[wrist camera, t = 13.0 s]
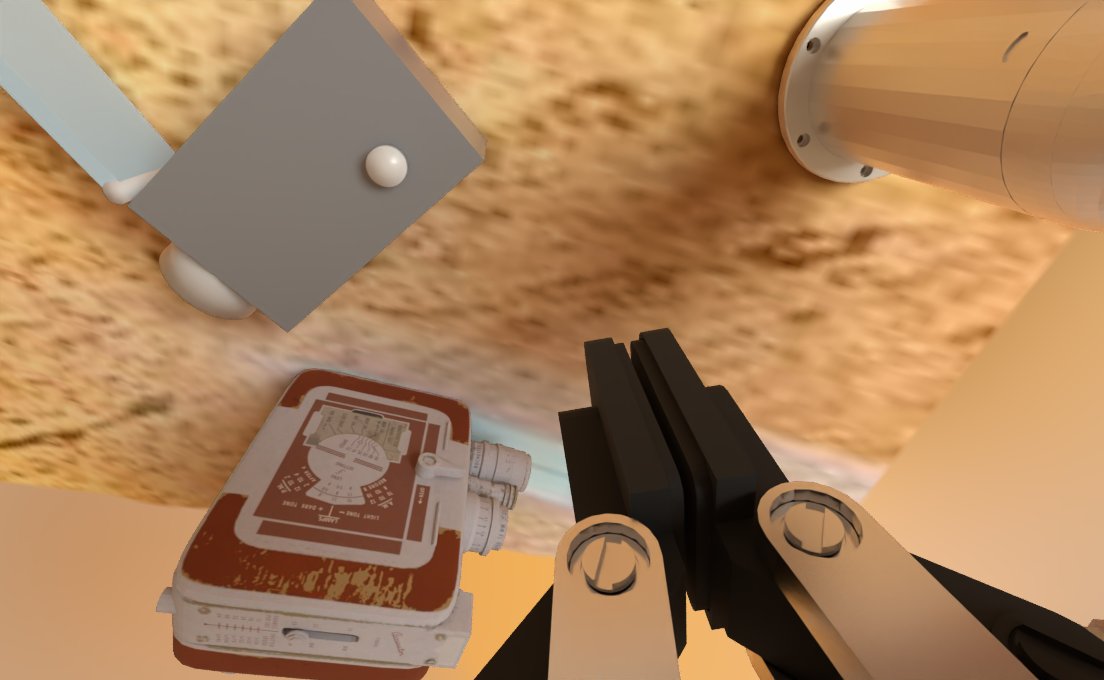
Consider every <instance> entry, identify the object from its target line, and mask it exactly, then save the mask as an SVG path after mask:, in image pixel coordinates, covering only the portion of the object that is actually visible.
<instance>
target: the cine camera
mask: <svg viewBox="0 0 1104 680" xmlns="http://www.w3.org/2000/svg"><path fill="white" fill-rule="evenodd" d="M530 472H531V456H530V455H529V454H526V453H525V452H523V451H518V450H515V449H514V448H510V447H505V446H503V445H501V444H496V445H493V444H489V442H487V441H483V442H482V443H480V442H475V441H474V442H471V413H470V410H469V407H468V406H467V405H466V404H464V403H463V402H461V401H458V400H455V399H451V398H447V397H443V396H439V395H435V394H431V393H426V392H422V391H417V390H413V389H409V388H404V387H400V386H396V385H391V384H387V383H382V382H378V381H374V380H369V379H365V378H360V377H356V376H352V375H347V374H343V373H338V372H333V371H328V370H323V369H307V370H304V371H303V372H301V373H300V374H298V375H297V376H296V378H295V379H294V380H293V381H292V382H291V384H290V385H289V386H288V387H287V389H286V390H285V392H284V393H283V395H282V396H281V398H280V399H279V401H278V402H277V404H276V405H275V407H274V408H273V410H272V411H271V413H270V414H269V416H268V417H267V419H266V421H265V422H264V424H263V425H262V427H261V428H260V430H259V432H258V433H257V435H256V436H255V438H254V439H253V441H252V442H251V444H250V446H249V447H248V449H247V450H246V452H245V453H244V455H243V457H242V458H241V460H240V461H239V463H238V464H237V466H236V468H235V469H234V471H233V472H232V474H231V475H230V477H229V478H228V480H227V482H226V483H225V485H224V486H223V488H222V489H221V491H220V493H219V494H218V496H217V497H216V499H215V500H214V502H213V504H212V505H211V507H210V508H209V510H208V511H207V513H206V515H205V516H204V518H203V519H202V521H201V523H200V524H199V526H198V527H197V529H196V530H195V532H194V534H193V535H192V537H191V539H190V540H189V542H188V544H187V546H186V548H185V550H184V551H183V554H182V556H181V558H180V561H179V563H178V565H177V568H176V570H175V572H174V575H173V582H172V587H167V588H166V589H165V590H164V591H163V593H162V594H161V596H160V598H159V601H158V603H157V607H156V612H163V613H172V624H173V652H174V655H175V657H176V658H177V659H178V660H179V661H180V662H181V663H182V664H183V665H186V666H189V667H192V668H195V669H203V670H211V671H219V672H222V673H227V674H235V673H242V674H253V675H264V676H276V677H287V678H299V679H311V680H421V679H422V678H423V677H424V675H425V674H426V672H427V670H428V668H429V666H433V667H444V668H456V666H457V664H458V662H459V659H460V657H461V655H462V653H463V651H464V649H465V647H466V644H467V642H468V640H469V638H470V636H471V629H472V628H471V627H472V609H473V594H472V593H468V592H464V591H462V590H461V589H459V585H460V578H461V566H462V554H463V553H465V552H467V551H471V552H478V553H479V554H480V555H482V556H486V555H487V554H488V553H489V551H490V550H497V551H498V550H500V548H501V546H502V544H503V541H504V538H505V534H506V529H507V523H508V509H510V510H513V508H514V506H515V504H516V500H517V494H518V492H523V491H524V490H525V488H526V486H527V484H528V480H529V476H530Z"/></svg>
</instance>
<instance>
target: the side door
mask: <svg viewBox="0 0 1104 680" xmlns="http://www.w3.org/2000/svg"><path fill="white" fill-rule="evenodd" d="M0 85H1V86H2V87H3V88H4V89H5V91H6V92H7V93H8V94H9V95H10V96H11V97H12V98H13V99H14V100H15V101H16V102H17V103H18V104H19V105H20V106H21V107H22V108H23V109H24V110H25V111H26V112H27V113H28V114H29V115H30V116H31V117H32V118H33V119H34V120H35V121H36V122H37V123H38V124H39V125H40V126H41V127H42V128H43V129H44V130H45V131H46V132H47V133H48V134H49V135H50V136H51V137H52V138H53V139H54V140H55V141H56V142H57V143H58V144H59V145H60V146H61V147H62V148H63V149H64V150H65V151H66V152H67V153H68V154H69V155H70V156H71V157H72V158H73V159H74V160H75V161H76V162H77V163H78V164H79V165H80V166H81V167H82V168H83V169H84V170H85V171H86V172H87V173H88V174H89V175H90V176H91V177H92V178H93V179H94V180H95V181H96V182H97V183H98V184H99V185H100V186H101V187H102V190H103V193H104V195H105V197H106V198H107V199H108V200H109V201H111V202H113V203H115V204H125V203H127V202H130V201H132V200H133V199H134V198H135V197H136V196H137V195H138V194H139V193H140V191H141V190H142V189H143V188H144V187H145V186H146V185H147V184H148V183H149V182H150V180H151V179H152V178H153V177H154V176H155V175H156V174H157V173H158V172H159V171H160V169H161V168H162V167H163V166H164V165H165V164H166V163H167V162H168V161H169V160H170V158H171V157H172V156H173V155H174V154H175V151H174V150H173V149H172V148H171V147H170V146H169V145H168V144H167V142H166V141H165V140H164V139H163V138H162V137H161V136H160V134H159V133H158V132H157V131H156V130H155V129H154V128H153V127H152V125H151V124H150V123H149V122H148V121H147V120H146V119H145V118H144V116H143V115H142V114H141V113H140V112H139V111H138V110H137V108H136V107H135V106H134V105H133V104H132V103H131V102H130V101H129V99H128V98H127V97H126V96H125V95H124V94H123V93H122V91H121V90H120V89H119V88H118V87H117V86H116V85H115V84H114V82H113V81H112V80H111V79H110V78H109V77H108V76H107V75H106V73H105V72H104V71H103V70H102V69H101V68H100V67H99V65H98V64H97V63H96V62H95V61H94V60H93V59H92V58H91V56H90V55H89V54H88V53H87V52H86V51H85V50H84V48H83V47H82V46H81V45H80V44H79V43H78V42H77V41H76V39H75V38H74V37H73V36H72V35H71V34H70V33H69V32H68V30H67V29H66V28H65V27H64V26H63V25H62V24H61V22H60V21H59V20H58V19H57V18H56V17H55V16H54V15H53V13H52V12H51V11H50V10H49V9H48V8H47V7H46V5H45V4H44V3H43V2H42V1H41V0H0Z"/></svg>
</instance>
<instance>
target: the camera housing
mask: <svg viewBox="0 0 1104 680" xmlns="http://www.w3.org/2000/svg"><path fill="white" fill-rule="evenodd" d="M486 145H487V140H486V139H485V138H484V136H483V135H482V134H481V133H480V132H479V130H478V129H477V128H476V127H475V125H474V124H473V123H472V122H471V120H470V119H469V118H468V117H467V115H466V114H465V113H464V112H463V110H462V109H461V108H460V107H459V106H458V104H457V103H456V102H455V101H454V99H453V98H452V97H451V96H450V94H449V93H448V92H447V91H446V89H445V88H444V87H443V86H442V84H441V83H440V82H439V81H438V80H437V78H436V77H435V76H434V75H433V73H432V72H431V71H430V70H429V68H428V67H427V66H426V65H425V63H424V62H423V61H422V60H421V59H420V57H419V56H418V55H417V54H416V52H415V51H414V50H413V49H412V47H411V46H410V45H409V44H408V42H407V41H406V40H405V39H404V37H403V36H402V35H401V34H400V33H399V31H398V30H397V29H396V28H395V26H394V25H393V24H392V23H391V21H390V20H389V19H388V18H387V16H386V15H385V14H384V13H383V11H382V10H381V9H380V8H379V7H378V5H377V4H376V3H375V2H374V0H314V1H313V2H312V3H311V4H310V5H309V7H308V8H307V9H306V10H305V11H304V12H303V13H302V14H301V15H300V16H299V18H298V19H297V20H296V21H295V22H294V23H293V24H292V25H291V26H290V27H289V29H288V30H287V31H286V32H285V33H284V34H283V35H282V36H281V37H280V38H279V40H278V41H277V42H276V43H275V44H274V45H273V46H272V47H271V48H270V49H269V51H268V52H267V53H266V54H265V55H264V56H263V57H262V58H261V59H260V60H259V62H258V63H257V64H256V65H255V66H254V67H253V68H252V69H251V70H250V71H249V73H248V74H247V75H246V76H245V77H244V78H243V79H242V80H241V81H240V82H239V84H238V85H237V86H236V87H235V88H234V89H233V90H232V91H231V92H230V93H229V95H228V96H227V97H226V98H225V99H224V100H223V101H222V102H221V103H220V104H219V106H218V107H217V108H216V109H215V110H214V111H213V112H212V113H211V114H210V115H209V117H208V118H207V119H206V120H205V121H204V122H203V123H202V124H201V125H200V126H199V128H198V129H197V130H196V131H195V132H194V133H193V134H192V135H191V136H190V137H189V139H188V140H187V141H186V142H185V143H184V144H183V145H182V146H181V147H180V149H179V150H178V151H177V152H176V153H175V154H174V155H173V156H172V157H171V158H170V160H169V161H168V162H167V163H166V164H165V165H164V166H163V167H162V168H161V169H160V171H159V172H158V173H157V174H156V175H155V176H154V177H153V178H152V179H151V180H150V182H149V183H148V184H147V185H146V186H145V187H144V188H143V189H142V190H141V191H140V193H139V194H138V195H137V196H136V197H135V198H134V199H133V200H132V201H131V202H130V204H129V205H128V206H127V207H128V208H130V209H131V210H132V211H134V212H135V213H136V214H137V215H139V216H140V217H141V218H142V219H144V220H145V221H146V222H148V223H149V224H150V225H151V226H153V227H154V228H155V229H156V230H158V231H159V232H160V233H162V234H163V235H164V236H165V237H167V238H168V239H169V240H170V241H172V242H171V243H170V244H169V245H168V246H167V247H166V248H165V249H164V250H163V252H162V253H161V255H160V259H159V266H160V270H161V272H162V275H163V277H164V278H165V280H166V282H167V283H168V284H169V286H170V287H171V288H172V289H173V290H174V291H175V292H176V293H177V294H178V295H179V296H180V297H181V298H182V299H184V300H185V301H186V302H187V303H189V304H190V305H192V306H193V307H195V308H197V309H199V310H201V311H203V312H205V313H207V314H209V315H212V316H215V317H218V318H223V319H229V320H238V319H243V318H246V317H248V316H250V315H251V314H252V313H253V312H254V311H256V310H257V309H258V310H260V311H261V312H262V313H263V314H265V315H266V316H267V317H268V318H270V319H271V320H272V321H274V322H275V323H276V324H277V325H279V326H280V327H281V328H282V329H284V330H285V331H286V332H289V331H290V330H291V329H293V328H294V327H295V326H296V325H297V324H298V323H299V322H301V321H302V320H303V319H304V318H305V317H306V316H307V315H309V314H310V313H311V312H312V311H313V310H314V309H315V308H317V307H318V306H319V305H320V304H321V303H322V302H323V301H325V300H326V299H327V298H328V297H329V296H330V295H331V294H333V293H334V292H335V291H336V290H337V289H338V288H339V287H341V286H342V285H343V284H344V283H345V282H346V281H347V280H348V279H350V278H351V277H352V276H353V275H354V274H355V273H356V272H358V271H359V270H360V269H361V268H362V267H363V266H364V265H366V264H367V263H368V262H369V261H370V260H371V259H372V258H374V257H375V256H376V255H377V254H378V253H379V252H380V251H382V250H383V249H384V248H385V247H386V246H387V245H388V244H390V243H391V242H392V241H393V240H394V239H395V238H396V237H398V236H399V235H400V234H401V233H402V232H403V231H404V230H406V229H407V228H408V227H409V226H410V225H411V224H412V223H414V222H415V221H416V220H417V219H418V218H419V217H420V216H422V215H423V214H424V213H425V212H426V211H427V210H428V209H430V208H431V207H432V206H433V205H434V204H435V203H436V202H438V201H439V200H440V199H441V198H442V197H443V196H444V195H446V194H447V193H448V192H449V191H450V190H451V189H452V188H454V187H455V186H456V185H457V184H458V183H459V182H460V181H462V180H463V179H464V178H465V177H466V176H467V175H468V174H470V173H471V172H472V171H473V170H474V169H475V168H476V167H478V166H479V165H480V164H481V163H482V162H483V161H484V159H485V152H486Z"/></svg>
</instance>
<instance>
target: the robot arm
mask: <svg viewBox="0 0 1104 680" xmlns="http://www.w3.org/2000/svg"><path fill="white" fill-rule="evenodd" d="M808 42H809V48H808V49H807V48H806V47H807V43H808ZM778 118H779V124H780V129H781V134H782V136H783V139H784V141H785V143H786V146H787V148H788V150H789V151H790V153H791V154H792V156H793V157H794V158H795V160H796V161H797V162H798V163H799V164H800V165H802V166H803V167H804V168H805V169H806V170H808V171H809V172H811V173H813V174H815V175H818V176H820V177H822V178H825V179H828V180H831V181H834V182H842V183H860V182H867V181H871V180H874V179H877V178H881V177H884V176H886V175H888V174H890V173H893V174H896V175H899V176H902V177H906V178H909V179H912V180H915V181H919V182H922V183H925V184H929V185H932V186H935V187H938V188H942V189H945V190H948V191H952V192H955V193H958V194H961V195H965V196H968V197H971V198H974V199H978V200H981V201H984V202H988V203H991V204H994V205H997V206H1001V207H1004V208H1007V209H1011V210H1014V211H1017V212H1020V213H1024V214H1027V215H1030V216H1033V217H1037V218H1040V219H1045V220H1048V221H1052V222H1055V223H1058V224H1062V225H1065V226H1069V227H1073V228H1078V229H1082V230H1088V231H1097V232H1104V0H826V1H825V2H824V3H823V4H822V5H821V6H820V7H819V8H818V10H817V11H816V12H815V13H814V14H813V15H812V16H811V18H810V19H809V21H808V22H807V24H806V25H805V27H804V28H803V29H802V31H801V32H800V34H799V35H798V37H797V39H796V41H795V43H794V46H793V48H792V50H791V52H790V54H789V56H788V58H787V62H786V65H785V68H784V71H783V74H782V77H781V83H780V89H779V95H778ZM799 136H800V139H799V141H798V142H797V140H798V138H799ZM584 348H585V356H586V364H587V372H588V380H589V388H590V396H591V404H592V407H587V408H581V409H575V410H569V411H563V412H558V415H559V421H560V427H561V433H562V439H563V446H564V452H565V458H566V464H567V470H568V477H569V483H570V489H571V495H572V501H573V508H574V514H575V520H576V524H575V525H574V526H573V527H572V528H571V529H569V530H568V531H567V532H566V533H565V535H564V537H563V538H562V540H561V541H560V543H559V545H558V549H557V553H556V558H555V571H554V583H553V585H552V586H551V587H550V588H549V590H548V591H547V592H546V593H545V594H544V596H543V597H542V598H541V599H540V601H539V602H538V603H537V604H536V605H535V606H534V608H533V609H532V610H531V611H530V613H529V614H528V615H527V616H526V617H525V619H524V620H523V621H522V622H521V623H520V625H519V626H518V627H517V628H516V629H515V631H514V632H513V633H512V634H511V635H510V637H509V638H508V639H507V640H506V641H505V643H504V644H503V645H502V647H501V648H500V649H499V650H498V651H497V652H496V654H495V655H494V656H493V657H492V659H491V660H490V661H489V662H488V664H486V666H485V667H484V668H483V669H482V670H481V672H480V673H479V674H478V675H477V677H476V678H475V679H474V680H681V679H680V672H679V666H678V658H679V656H680V655H681V653H682V651H683V649H684V647H685V646H686V643H687V642H686V592H687V595H688V598H689V600H690V603H691V606H692V608H693V610H695V611H698V610H705V613H706V616H707V618H708V621H709V624H710V626H711V629H712V630H714V629H720V628H725V631H726V634H727V636H728V637H729V638H731V639H732V640H734V641H736V642H737V643H739V644H741V645H742V646H744V647H746V651H747V654H748V656H749V659H750V661H751V664H752V666H753V668H754V669H755V671H756V673H757V675H758V677H759V678H760V680H1104V620H1100V619H1093V620H1092V621H1091V623H1090V624H1089V626H1088V627H1083V626H1081V625H1079V624H1077V623H1075V622H1073V621H1071V620H1069V619H1067V618H1065V617H1063V616H1061V615H1059V614H1057V613H1055V612H1053V611H1050V610H1048V609H1046V608H1043V607H1040V606H1038V605H1036V604H1033V603H1031V602H1029V601H1026V600H1024V599H1021V598H1019V597H1016V596H1013V595H1011V594H1009V593H1006V592H1004V591H1002V590H999V589H997V588H994V587H992V586H989V585H987V584H984V583H982V582H980V581H977V580H975V579H972V578H970V577H967V576H965V575H963V574H960V573H958V572H955V571H953V570H950V569H948V568H945V567H943V566H941V565H938V564H936V563H933V562H931V561H928V560H926V559H924V558H921V557H919V556H916V555H914V554H911V553H909V552H908V551H907V550H905V548H904V547H902V546H901V545H900V544H899V543H898V542H897V541H896V540H895V539H894V538H893V537H892V536H891V535H890V534H889V533H888V532H887V531H886V530H885V529H884V528H883V527H882V526H881V525H880V524H879V523H878V522H877V521H876V520H875V519H874V518H873V517H872V516H871V515H870V514H869V513H868V512H867V511H865V509H864V508H863V507H862V506H860V505H859V504H858V503H857V502H855V501H854V500H853V499H851V498H850V497H849V496H848V495H846V494H844V493H842V492H840V491H838V490H836V489H834V488H832V487H829V486H825V485H821V484H818V483H814V482H802V481H794V482H789V481H788V480H787V478H786V477H785V475H784V474H783V472H782V471H781V469H780V468H779V466H778V465H777V463H776V462H775V460H774V459H773V457H772V456H771V454H770V453H769V451H768V450H767V448H766V447H765V445H764V444H763V443H762V441H761V440H760V438H759V437H758V435H757V434H756V432H755V431H754V429H753V428H752V426H751V425H750V423H749V422H748V420H747V419H746V417H745V416H744V414H743V413H742V411H741V410H740V408H739V407H738V405H737V404H736V402H735V401H734V400H733V398H732V397H731V395H730V394H729V392H728V391H727V390H726V388H725V387H724V386H721V385H717V386H711V387H705V386H704V385H703V383H702V381H701V380H700V378H699V377H698V375H697V373H696V372H695V370H694V368H693V367H692V365H691V364H690V362H689V360H688V359H687V357H686V355H685V354H684V352H683V351H682V349H681V347H680V346H679V344H678V342H677V341H676V339H675V338H674V336H673V334H672V333H671V331H670V330H669V329H668V328H664V329H658V330H652V331H646V332H640V334H639V340H636V341H631V344H630V349H631V359H630V357H629V355H628V352H627V350H626V348H625V345H624V343H618V344H614V342H613V340H612V338H605V339H599V340H593V341H587V342H584Z"/></svg>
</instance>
